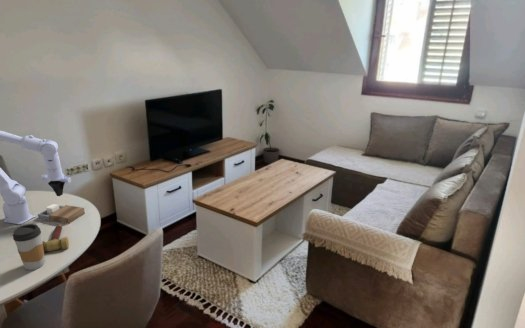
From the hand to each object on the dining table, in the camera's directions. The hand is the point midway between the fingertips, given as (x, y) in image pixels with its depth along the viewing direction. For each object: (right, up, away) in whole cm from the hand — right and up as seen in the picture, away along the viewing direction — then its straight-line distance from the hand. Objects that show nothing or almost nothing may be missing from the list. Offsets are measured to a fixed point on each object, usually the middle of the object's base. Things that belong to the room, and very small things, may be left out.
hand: (59, 195), depth 159 cm
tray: (-5, -9, +3) cm, 11 cm away
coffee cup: (+10, -23, -32) cm, 41 cm away
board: (+3, -10, +1) cm, 11 cm away
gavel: (+8, -17, -16) cm, 25 cm away
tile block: (-3, -7, +2) cm, 8 cm away
